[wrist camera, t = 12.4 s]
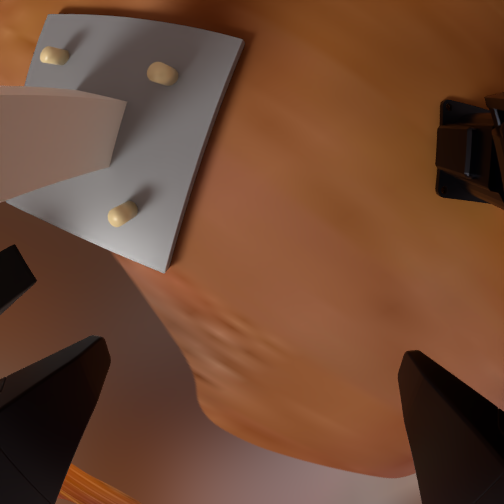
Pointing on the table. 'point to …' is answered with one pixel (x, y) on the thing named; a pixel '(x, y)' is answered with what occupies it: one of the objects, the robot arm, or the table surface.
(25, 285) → the electronic device
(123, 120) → the mount plate
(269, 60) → the table surface
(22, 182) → the cream block
